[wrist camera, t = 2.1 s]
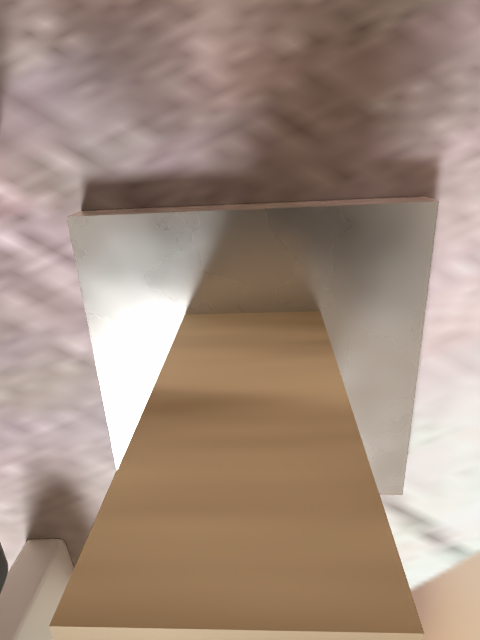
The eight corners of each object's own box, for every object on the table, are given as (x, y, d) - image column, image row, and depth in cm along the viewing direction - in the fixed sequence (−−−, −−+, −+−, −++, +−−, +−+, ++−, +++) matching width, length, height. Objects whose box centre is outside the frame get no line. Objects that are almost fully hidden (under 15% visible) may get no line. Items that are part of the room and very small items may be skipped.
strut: (317, 424, 14) (391, 818, 6) (196, 426, 15) (108, 807, 6) (320, 311, 13) (423, 633, 5) (184, 314, 13) (48, 626, 5)
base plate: (394, 474, 16) (402, 494, 15) (129, 475, 17) (121, 494, 16) (425, 196, 12) (438, 201, 11) (80, 211, 13) (66, 216, 12)
